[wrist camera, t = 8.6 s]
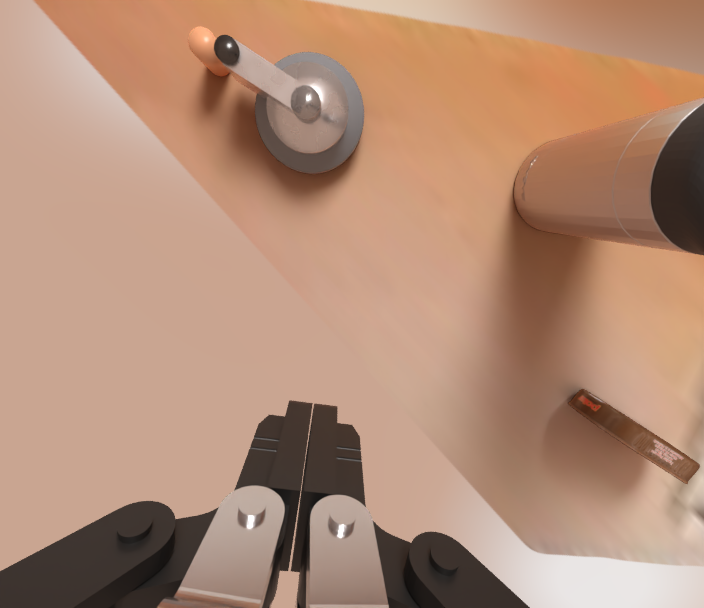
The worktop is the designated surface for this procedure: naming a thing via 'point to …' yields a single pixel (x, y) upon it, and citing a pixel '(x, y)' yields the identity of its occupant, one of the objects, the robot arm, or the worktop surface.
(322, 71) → the dial
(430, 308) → the worktop surface
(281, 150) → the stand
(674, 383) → the worktop surface
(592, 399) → the tin
